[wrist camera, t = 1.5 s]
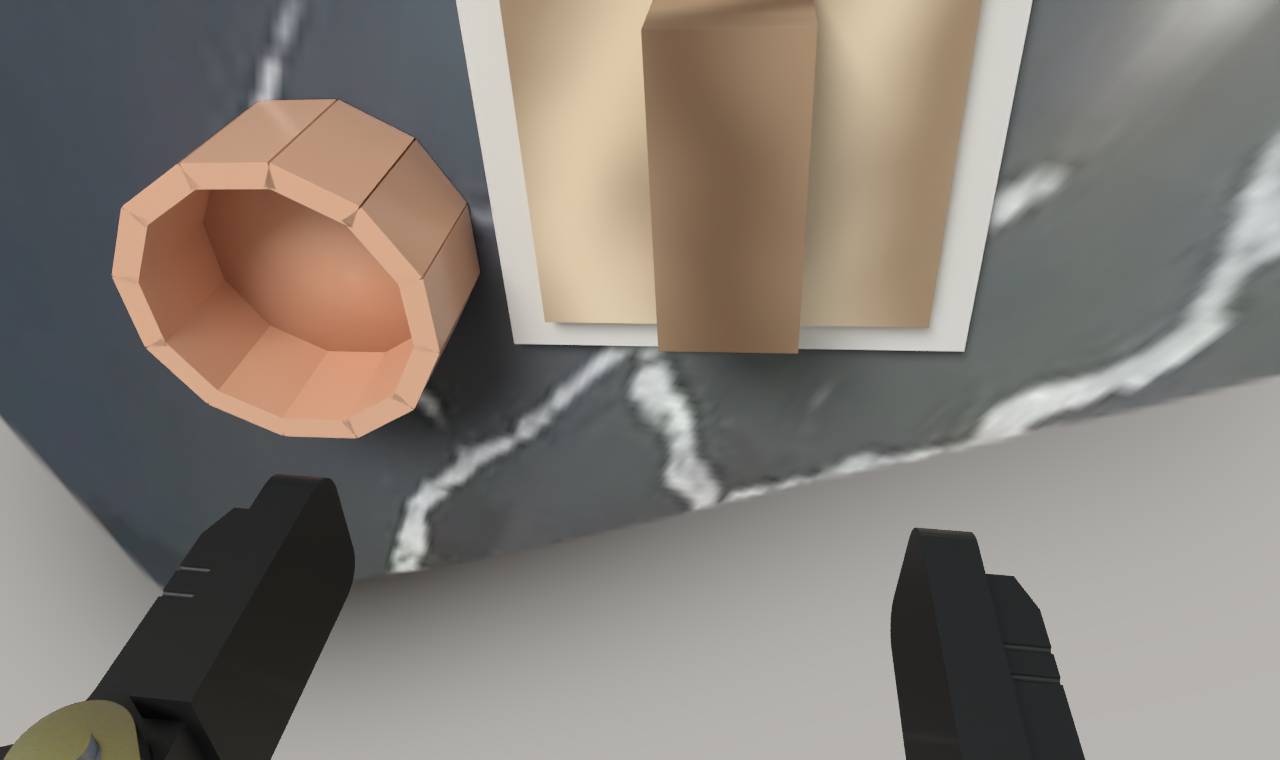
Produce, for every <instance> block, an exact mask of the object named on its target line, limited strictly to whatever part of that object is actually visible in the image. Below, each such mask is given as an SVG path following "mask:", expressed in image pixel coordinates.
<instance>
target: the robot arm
mask: <svg viewBox="0 0 1280 760" xmlns="http://www.w3.org/2000/svg"><path fill="white" fill-rule="evenodd" d="M354 569H355V555H354V549H353V545H352V542H351V538H350V534H349V531H348V527H347V524H346V520H345V517H344V513H343V510H342V506H341V503H340V499H339V496H338V492H337V489H336V486H335V484H334V482H333V481H332V480H331V479H329V478H321V477H308V476H296V475H284V474H276V475H274V476H272V477H271V478H270V479H269V480H268V481H267V483H266V484H265V485H264V487H263V488H262V490H261V492H260V493H259V495H258V496H257V498H256V499H255V501H254V502H253V504H252V506H251V507H250V509H242V508H233V509H232V510H231V511H230V512H228V513H227V514H226V515H225V516H223V517H222V518H221V519H220V520H218V521H217V522H216V523H214V524H213V525H212V526H211V527H209V528H208V529H207V530H206V531H204V532H203V533H202V534H201V535H200V537H199V538H198V540H197V541H196V543H195V544H194V546H193V547H192V548H191V550H190V551H189V553H188V554H187V556H186V557H185V559H184V560H183V562H182V563H181V568H180V570H179V571H176V572H175V573H174V575H173V576H172V578H171V579H170V581H169V582H168V584H167V585H166V586H165V588H164V589H163V595H162V597H158V598H157V600H156V601H155V603H154V604H153V605H152V607H151V608H150V610H149V611H148V613H147V614H146V616H145V617H144V619H143V620H142V622H141V623H140V624H139V626H138V627H137V629H136V630H135V632H134V633H133V635H132V636H131V638H130V639H129V641H128V642H127V643H126V645H125V646H124V648H123V649H122V651H121V652H120V654H119V655H118V657H117V658H116V660H115V661H114V663H113V664H112V665H111V667H110V668H109V670H108V671H107V673H106V674H105V676H104V677H103V679H102V680H101V681H100V683H99V684H98V686H97V687H96V689H95V690H94V692H93V693H92V694H91V695H90V697H89V698H88V699H87V700H86V701H83V702H78V703H74V704H71V705H68V706H66V707H63V708H61V709H59V710H57V711H54V712H52V713H51V714H49V715H47V716H46V717H44V718H42V719H41V720H39V721H38V722H37V723H35V724H34V725H33V726H31V727H30V728H29V729H28V730H27V731H26V732H25V733H24V734H22V735H21V737H20V738H19V739H18V740H17V741H16V742H15V743H14V744H12V745H8V746H4V747H0V760H271V757H272V755H273V753H274V751H275V749H276V747H277V745H278V742H279V740H280V738H281V736H282V734H283V732H284V730H285V728H286V725H287V724H288V721H289V719H290V717H291V715H292V713H293V711H294V709H295V706H296V704H297V702H298V700H299V698H300V696H301V694H302V692H303V689H304V688H305V685H306V683H307V681H308V679H309V677H310V675H311V673H312V670H313V668H314V666H315V664H316V662H317V660H318V658H319V656H320V654H321V652H322V649H323V647H324V645H325V643H326V641H327V639H328V637H329V634H330V632H331V630H332V628H333V626H334V624H335V622H336V620H337V618H338V616H339V613H340V611H341V609H342V607H343V605H344V602H345V601H346V599H347V596H348V594H349V592H350V589H351V585H352V582H353V577H354ZM891 648H892V655H893V662H894V671H895V678H896V686H897V694H898V701H899V709H900V716H901V724H902V732H903V739H904V747H905V754H906V760H1085V758H1084V754H1083V751H1082V748H1081V744H1080V741H1079V738H1078V735H1077V731H1076V728H1075V725H1074V721H1073V718H1072V715H1071V711H1070V708H1069V705H1068V702H1067V698H1066V695H1065V691H1064V688H1063V685H1060V675H1059V672H1058V668H1057V665H1056V661H1055V658H1054V655H1053V654H1051V645H1050V642H1049V638H1048V635H1047V632H1046V628H1045V625H1044V622H1043V618H1042V615H1041V612H1040V609H1039V608H1038V607H1037V606H1036V604H1035V603H1034V602H1033V600H1032V599H1031V598H1030V597H1029V595H1028V594H1027V593H1026V591H1025V590H1024V589H1023V588H1022V586H1021V585H1020V584H1019V583H1018V581H1017V580H1016V579H1015V577H1014V576H1005V575H993V574H985V570H984V567H983V562H982V558H981V555H980V550H979V546H978V543H977V540H976V537H975V535H974V534H973V533H972V532H962V531H950V530H937V529H925V528H914V529H913V530H912V532H911V535H910V538H909V542H908V546H907V549H906V553H905V557H904V561H903V565H902V568H901V572H900V576H899V580H898V584H897V587H896V591H895V595H894V600H893V604H892V612H891Z"/></svg>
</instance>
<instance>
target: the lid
mask: <svg viewBox="0 0 1280 760" xmlns="http://www.w3.org/2000/svg"><path fill="white" fill-rule="evenodd" d="M499 2H500V9H501V16H502V23H503V30H504V37H505V44H506V51H507V58H508V65H509V72H510V79H511V86H512V94H513V101H514V108H515V115H516V122H517V129H518V136H519V143H520V150H521V157H522V164H523V171H524V178H525V185H526V192H527V199H528V206H529V213H530V220H531V227H532V234H533V241H534V248H535V255H536V262H537V269H538V276H539V283H540V290H541V297H542V304H543V311H544V318H545V322H567V323H639V324H657V335H658V351H679V352H735V353H792V354H798V348H799V331H800V326H855V327H927V328H929V323H930V317H931V311H932V305H933V299H934V293H935V286H936V280H937V274H938V268H939V262H940V256H941V249H942V243H943V237H944V231H945V225H946V219H947V213H948V206H949V200H950V194H951V188H952V182H953V176H954V170H955V163H956V157H957V151H958V145H959V139H960V133H961V127H962V120H963V114H964V108H965V102H966V96H967V90H968V84H969V77H970V71H971V65H972V59H973V53H974V47H975V41H976V34H977V28H978V22H979V16H980V10H981V4H982V0H499Z"/></svg>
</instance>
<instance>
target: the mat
mask: <svg viewBox="0 0 1280 760" xmlns="http://www.w3.org/2000/svg"><path fill="white" fill-rule="evenodd" d="M1032 1H1033V0H982V4H981V10H980V16H979V22H978V28H977V34H976V41H975V47H974V53H973V59H972V65H971V71H970V77H969V84H968V90H967V96H966V102H965V108H964V114H963V120H962V127H961V133H960V139H959V145H958V151H957V157H956V163H955V170H954V176H953V182H952V188H951V194H950V200H949V206H948V213H947V219H946V225H945V231H944V237H943V243H942V249H941V256H940V262H939V268H938V274H937V280H936V286H935V293H934V299H933V305H932V311H931V317H930V323H929V328H927V327H855V326H800V331H799V348H798V349H840V350H899V351H958V352H964V350H965V345H966V340H967V335H968V330H969V324H970V319H971V314H972V309H973V304H974V299H975V294H976V288H977V283H978V278H979V273H980V268H981V263H982V258H983V252H984V247H985V242H986V237H987V232H988V227H989V222H990V217H991V211H992V206H993V201H994V196H995V191H996V186H997V181H998V175H999V170H1000V165H1001V160H1002V155H1003V150H1004V145H1005V139H1006V134H1007V129H1008V124H1009V119H1010V114H1011V109H1012V104H1013V98H1014V93H1015V88H1016V83H1017V78H1018V73H1019V68H1020V62H1021V57H1022V52H1023V47H1024V42H1025V37H1026V32H1027V26H1028V21H1029V16H1030V11H1031V6H1032ZM456 3H457V9H458V15H459V21H460V27H461V33H462V38H463V44H464V50H465V56H466V62H467V68H468V74H469V80H470V86H471V91H472V97H473V103H474V109H475V115H476V121H477V127H478V133H479V139H480V144H481V150H482V156H483V162H484V168H485V174H486V180H487V186H488V192H489V198H490V203H491V209H492V215H493V221H494V227H495V233H496V239H497V245H498V251H499V256H500V262H501V268H502V274H503V280H504V286H505V292H506V298H507V304H508V309H509V315H510V321H511V327H512V333H513V339H514V344H546V345H605V346H658V335H657V324H639V323H567V322H545V318H544V311H543V304H542V297H541V290H540V283H539V276H538V269H537V262H536V255H535V248H534V241H533V234H532V227H531V220H530V213H529V206H528V199H527V192H526V185H525V178H524V171H523V164H522V157H521V150H520V143H519V136H518V129H517V122H516V115H515V108H514V101H513V94H512V86H511V79H510V72H509V65H508V58H507V51H506V44H505V37H504V30H503V23H502V16H501V9H500V2H499V0H456Z"/></svg>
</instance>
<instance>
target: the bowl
mask: <svg viewBox="0 0 1280 760" xmlns="http://www.w3.org/2000/svg"><path fill="white" fill-rule="evenodd" d="M413 141H414V137H412V136H410V135H408V134H406V133H404V132H402V131H400V130H398V129H396V128H394V127H392V126H390V125H388V124H386V123H384V122H382V121H380V120H378V119H376V118H374V117H372V116H370V115H368V114H366V113H364V112H362V111H360V110H358V109H356V108H354V107H352V106H350V105H348V104H346V103H344V102H342V101H340V100H338V101H337V100H336V99H320V100H264V101H259V102H256V103H255V104H254V105H253V106H251V107H250V108H249V109H247V110H246V111H245V112H243V113H242V114H241V115H240V116H238V117H237V118H236V119H234V120H233V121H232V122H230V123H229V124H228V125H227V126H225V127H224V128H223V129H221V130H220V131H219V132H218V133H216V134H215V135H214V136H212V137H211V138H210V139H208V140H207V141H206V142H205V143H203V144H202V145H201V146H199V147H198V148H197V149H196V150H194V151H193V152H192V153H190V154H189V155H188V156H187V157H185V158H184V159H183V160H181V161H180V162H179V163H178V164H176V165H175V166H174V167H172V168H171V169H170V170H169V171H167V172H166V173H165V174H163V175H162V176H161V177H159V178H158V179H157V180H156V181H154V182H153V183H152V184H150V185H149V186H148V187H147V188H145V189H144V190H143V191H141V192H140V193H139V194H138V195H136V196H135V197H134V198H132V199H131V200H130V201H129V202H127V203H126V204H125V205H123V206H122V208H121V213H120V220H119V227H118V234H117V241H116V248H115V256H114V263H113V270H112V275H113V277H112V278H113V280H114V282H115V284H116V286H117V289H118V291H119V293H120V295H121V297H122V299H123V301H124V303H125V306H126V308H127V310H128V312H129V314H130V316H131V318H132V321H133V323H134V325H135V327H136V329H137V331H138V333H139V335H140V338H141V340H142V342H143V344H144V346H148V347H147V348H146V349H147V350H149V351H150V352H151V353H152V354H153V355H154V356H155V357H156V358H157V359H159V360H160V361H161V362H162V363H163V364H164V365H165V366H166V367H167V368H168V369H170V370H171V371H172V372H173V373H174V374H175V375H176V376H177V377H178V378H179V379H181V380H182V381H183V382H184V383H185V384H186V385H187V386H188V387H189V388H191V389H192V390H193V391H194V392H195V393H196V394H197V395H198V396H199V397H200V398H202V399H203V400H204V401H205V402H206V403H208V402H209V405H211V406H213V407H216V408H218V409H221V410H223V411H225V412H228V413H230V414H232V415H235V416H237V417H239V418H242V419H244V420H247V421H249V422H251V423H254V424H256V425H258V426H261V427H263V428H265V429H268V430H270V431H273V432H275V433H277V434H280V435H282V436H283V434H284V436H296V437H328V438H357V437H358V438H359V437H361V436H363V435H365V434H367V433H369V432H371V431H373V430H375V429H377V428H379V427H381V426H383V425H385V424H387V423H389V422H391V421H393V420H395V419H397V418H399V417H401V416H403V415H405V414H407V413H408V412H410V411H412V410H414V409H415V407H416V405H417V403H418V401H419V399H420V397H421V395H422V393H423V391H424V389H425V387H426V385H427V383H428V381H429V379H430V377H431V375H432V373H433V371H434V369H435V367H436V365H437V363H438V361H439V359H440V357H441V355H442V353H443V351H444V349H445V347H446V345H447V343H448V341H449V339H450V337H451V335H452V333H453V331H454V329H455V327H456V325H457V323H458V321H459V318H460V316H461V314H462V312H463V310H464V307H465V305H466V303H467V301H468V299H469V297H470V294H471V292H472V290H473V288H474V286H475V283H476V281H477V279H478V277H479V275H480V268H479V262H478V257H477V252H476V246H475V241H474V235H473V230H472V225H471V219H470V214H469V209H468V205H466V203H467V202H466V201H465V200H464V199H463V197H462V196H461V195H460V194H459V192H458V191H457V190H456V189H455V187H454V186H453V185H452V184H451V182H450V181H449V180H448V179H447V177H446V176H445V175H444V174H443V172H442V171H441V170H440V169H439V167H438V166H437V165H436V163H435V162H434V161H433V160H432V158H431V157H430V156H429V155H428V153H427V152H426V151H425V150H424V148H423V147H422V146H421V145H420V143H419V142H418V141H417V140H415V141H414V142H413Z"/></svg>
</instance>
